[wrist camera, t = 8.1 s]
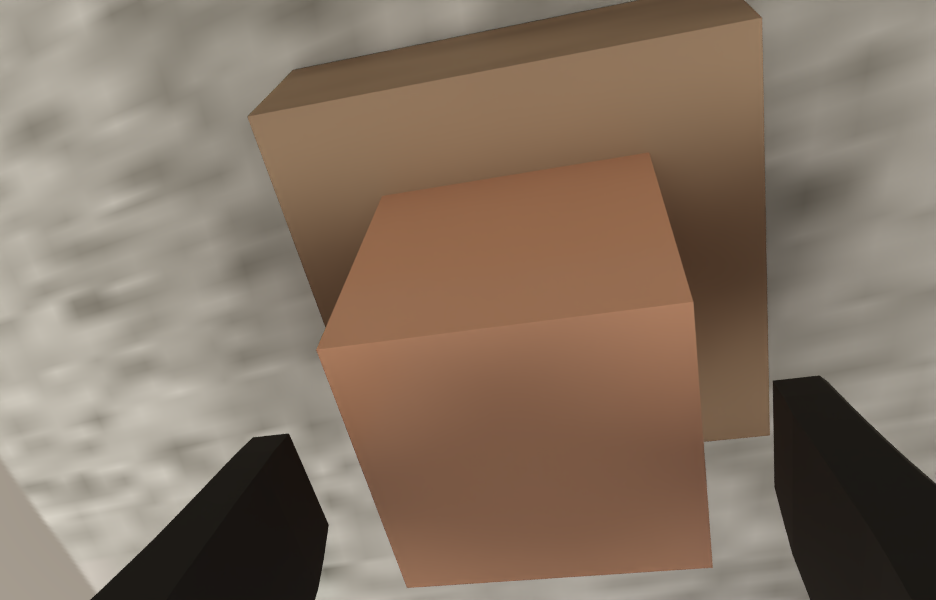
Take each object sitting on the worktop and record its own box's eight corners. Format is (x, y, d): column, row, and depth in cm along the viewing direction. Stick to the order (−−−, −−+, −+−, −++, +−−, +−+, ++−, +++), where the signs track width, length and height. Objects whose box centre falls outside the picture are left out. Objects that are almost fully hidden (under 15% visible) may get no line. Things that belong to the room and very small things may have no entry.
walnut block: (741, 354, 20) (769, 435, 17) (399, 394, 21) (379, 472, 19) (725, -18, 15) (762, 17, 13) (292, 70, 17) (247, 116, 14)
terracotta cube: (670, 373, 16) (712, 567, 12) (441, 398, 17) (407, 587, 13) (649, 152, 14) (693, 301, 10) (381, 196, 15) (316, 349, 11)
